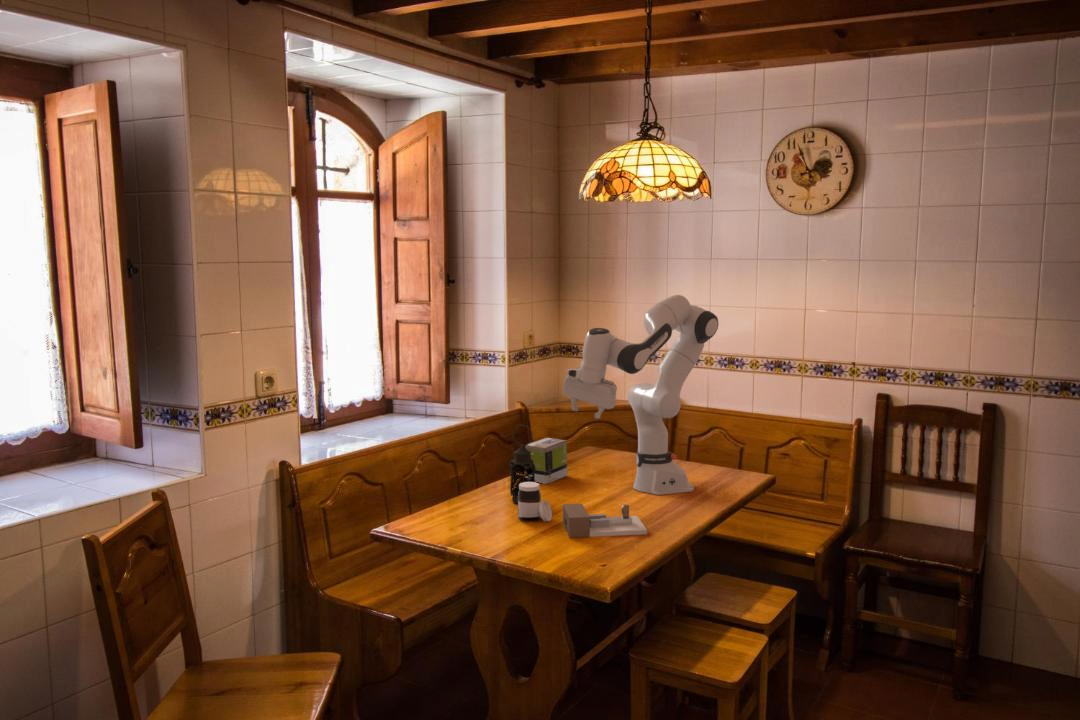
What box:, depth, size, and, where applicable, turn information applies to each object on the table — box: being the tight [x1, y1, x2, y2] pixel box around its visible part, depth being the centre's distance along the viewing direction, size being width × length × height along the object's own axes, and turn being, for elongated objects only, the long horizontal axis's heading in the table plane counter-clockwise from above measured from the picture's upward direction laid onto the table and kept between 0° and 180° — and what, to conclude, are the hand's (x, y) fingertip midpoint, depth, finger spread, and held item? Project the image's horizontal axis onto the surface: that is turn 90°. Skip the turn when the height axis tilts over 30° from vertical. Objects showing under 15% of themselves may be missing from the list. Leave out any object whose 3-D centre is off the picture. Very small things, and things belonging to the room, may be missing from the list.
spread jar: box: [517, 482, 553, 523], centre depth 290 cm, size 12×11×12 cm
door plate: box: [562, 503, 648, 539], centre depth 280 cm, size 25×14×6 cm, turn 97°
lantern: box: [509, 424, 536, 504], centre depth 308 cm, size 10×9×28 cm
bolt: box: [600, 504, 632, 525], centre depth 280 cm, size 10×2×6 cm, turn 97°
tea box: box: [524, 437, 568, 485], centre depth 338 cm, size 15×10×15 cm
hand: (585, 414), depth 297 cm, fingers open, 8 cm apart
